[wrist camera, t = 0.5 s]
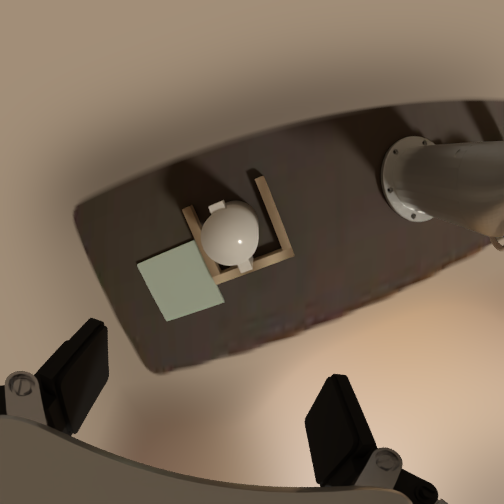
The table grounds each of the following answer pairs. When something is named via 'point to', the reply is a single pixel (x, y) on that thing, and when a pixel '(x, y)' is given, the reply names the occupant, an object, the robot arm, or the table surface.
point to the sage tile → (180, 281)
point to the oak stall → (258, 262)
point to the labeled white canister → (231, 234)
